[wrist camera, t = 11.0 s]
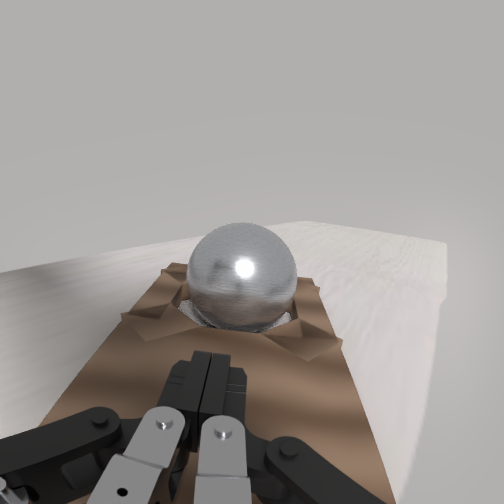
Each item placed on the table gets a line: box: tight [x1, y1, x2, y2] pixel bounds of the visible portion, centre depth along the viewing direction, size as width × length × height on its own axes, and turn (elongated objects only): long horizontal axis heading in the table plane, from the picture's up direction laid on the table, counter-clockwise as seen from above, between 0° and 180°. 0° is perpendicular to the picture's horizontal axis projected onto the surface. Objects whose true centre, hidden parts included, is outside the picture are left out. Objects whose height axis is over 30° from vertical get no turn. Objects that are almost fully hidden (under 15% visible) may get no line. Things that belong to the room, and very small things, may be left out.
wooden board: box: [38, 263, 396, 504], centre depth 24 cm, size 34×19×2 cm, turn 178°
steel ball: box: [186, 223, 297, 333], centre depth 28 cm, size 10×10×10 cm
